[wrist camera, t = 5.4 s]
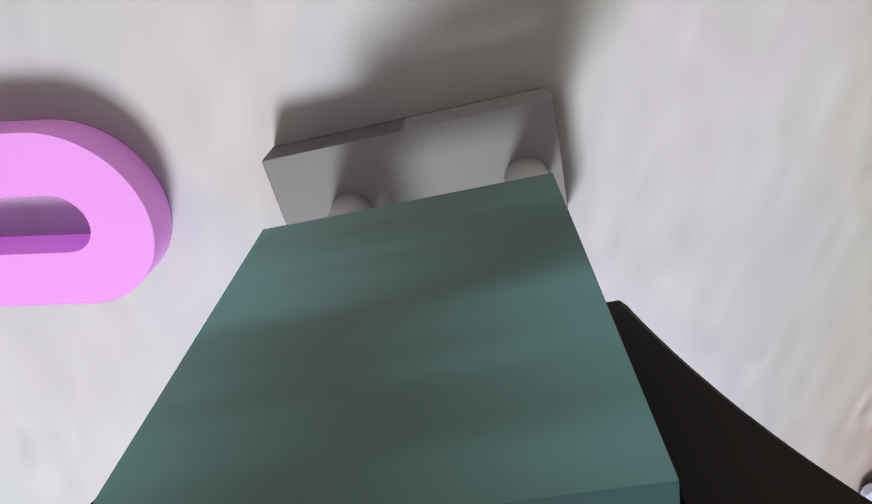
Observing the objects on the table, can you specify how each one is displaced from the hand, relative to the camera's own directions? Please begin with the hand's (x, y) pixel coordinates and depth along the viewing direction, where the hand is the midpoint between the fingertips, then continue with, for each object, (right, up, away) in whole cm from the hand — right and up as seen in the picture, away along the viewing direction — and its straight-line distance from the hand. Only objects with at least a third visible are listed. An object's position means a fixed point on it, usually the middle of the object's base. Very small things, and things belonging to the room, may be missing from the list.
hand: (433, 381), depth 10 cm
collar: (0, +1, +1) cm, 2 cm away
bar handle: (0, +1, +10) cm, 10 cm away
